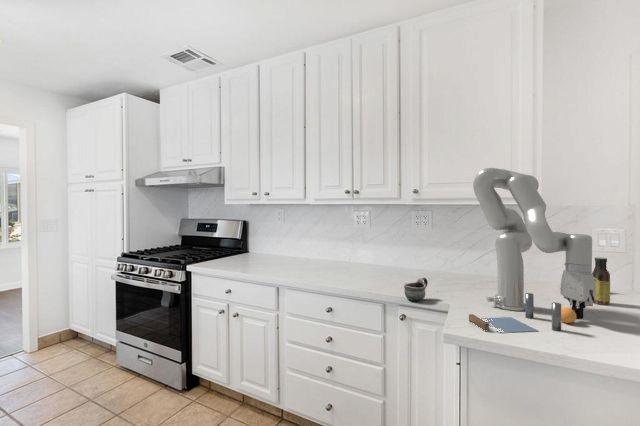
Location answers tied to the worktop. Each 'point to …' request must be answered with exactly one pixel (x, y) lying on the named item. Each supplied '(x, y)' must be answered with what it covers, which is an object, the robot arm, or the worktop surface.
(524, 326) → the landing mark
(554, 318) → the edge side post
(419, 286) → the mug
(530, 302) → the base side post
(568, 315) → the ball
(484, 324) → the wall
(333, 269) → the worktop surface
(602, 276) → the sauce bottle
